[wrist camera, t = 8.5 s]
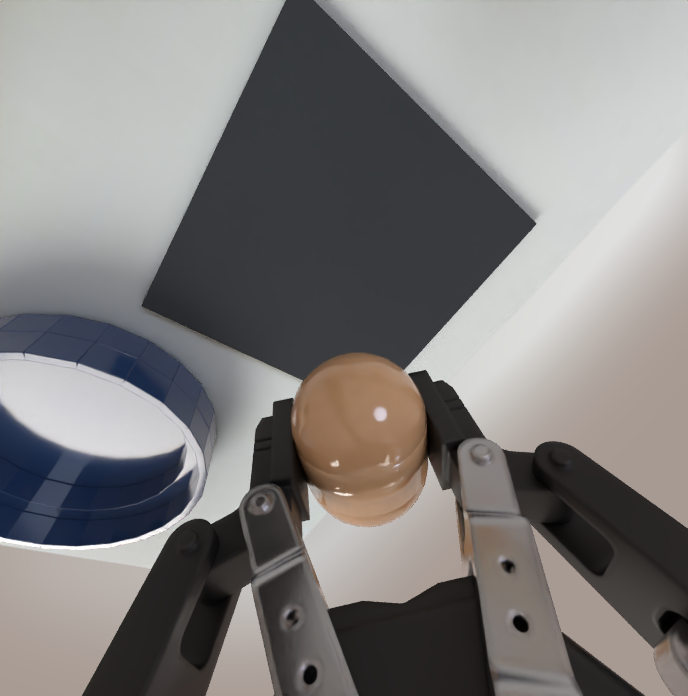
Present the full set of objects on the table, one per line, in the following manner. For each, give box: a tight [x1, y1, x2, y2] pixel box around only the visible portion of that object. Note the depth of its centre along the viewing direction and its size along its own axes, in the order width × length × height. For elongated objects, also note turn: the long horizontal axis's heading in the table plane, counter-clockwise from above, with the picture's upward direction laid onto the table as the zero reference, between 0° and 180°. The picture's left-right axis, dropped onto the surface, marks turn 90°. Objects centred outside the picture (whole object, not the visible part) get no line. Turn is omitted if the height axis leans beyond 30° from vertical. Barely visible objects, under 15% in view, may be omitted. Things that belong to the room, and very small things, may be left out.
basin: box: [0, 314, 217, 550], centre depth 27 cm, size 20×20×5 cm
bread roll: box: [290, 352, 428, 527], centre depth 12 cm, size 6×4×4 cm
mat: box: [142, 0, 536, 380], centre depth 25 cm, size 20×20×1 cm
